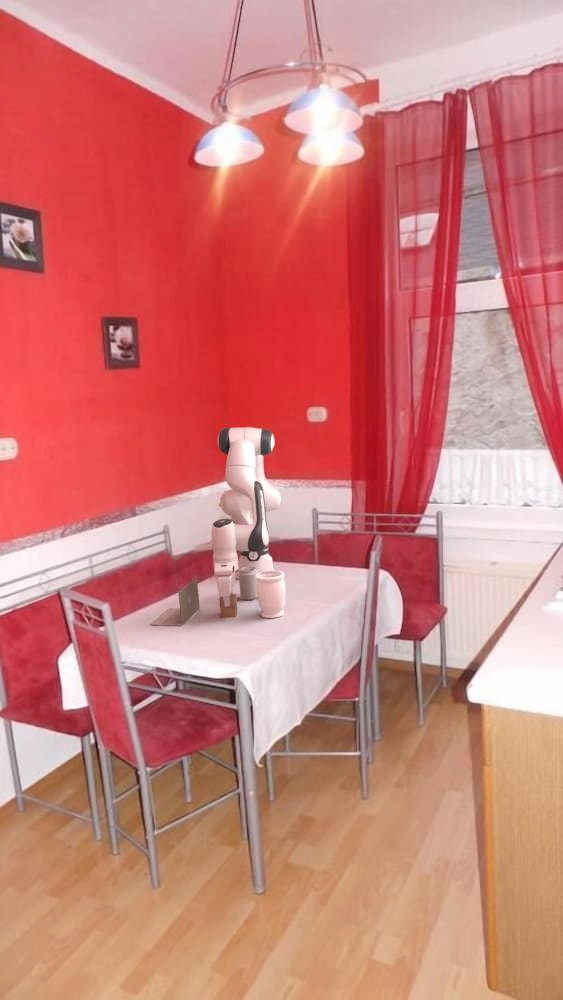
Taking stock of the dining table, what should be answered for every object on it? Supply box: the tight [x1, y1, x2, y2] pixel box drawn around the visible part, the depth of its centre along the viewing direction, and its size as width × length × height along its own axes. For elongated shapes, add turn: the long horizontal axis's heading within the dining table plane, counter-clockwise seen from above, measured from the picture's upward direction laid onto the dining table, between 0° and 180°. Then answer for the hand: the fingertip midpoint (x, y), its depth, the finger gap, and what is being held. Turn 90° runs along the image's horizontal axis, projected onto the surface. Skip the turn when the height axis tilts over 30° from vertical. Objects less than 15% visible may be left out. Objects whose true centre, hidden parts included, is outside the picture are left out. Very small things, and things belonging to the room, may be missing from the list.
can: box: [238, 567, 258, 601], centre depth 277 cm, size 8×8×12 cm
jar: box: [256, 570, 287, 619], centre depth 256 cm, size 11×10×15 cm
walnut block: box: [218, 593, 238, 619], centre depth 259 cm, size 6×6×7 cm
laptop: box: [149, 576, 201, 627], centre depth 260 cm, size 18×12×13 cm
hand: (228, 602), depth 258 cm, fingers open, 8 cm apart
